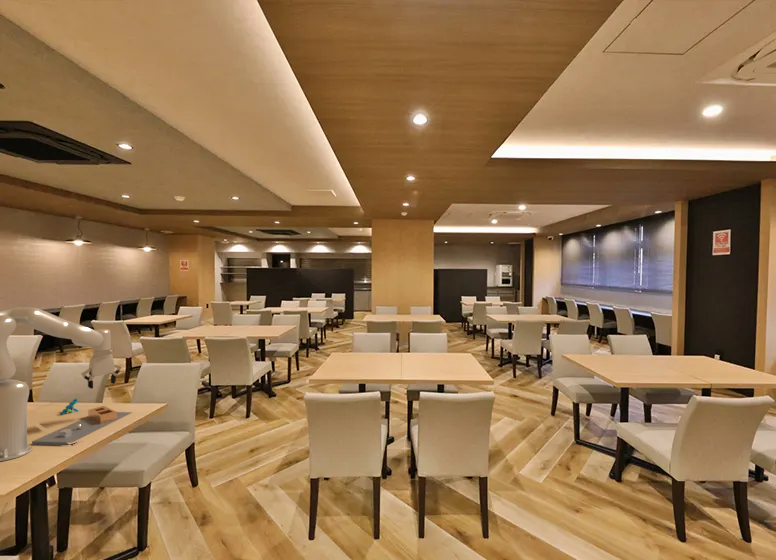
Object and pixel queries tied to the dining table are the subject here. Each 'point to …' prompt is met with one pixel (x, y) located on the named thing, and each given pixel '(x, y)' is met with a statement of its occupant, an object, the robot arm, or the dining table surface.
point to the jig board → (74, 431)
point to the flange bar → (102, 414)
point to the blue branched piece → (70, 407)
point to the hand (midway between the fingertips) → (102, 385)
